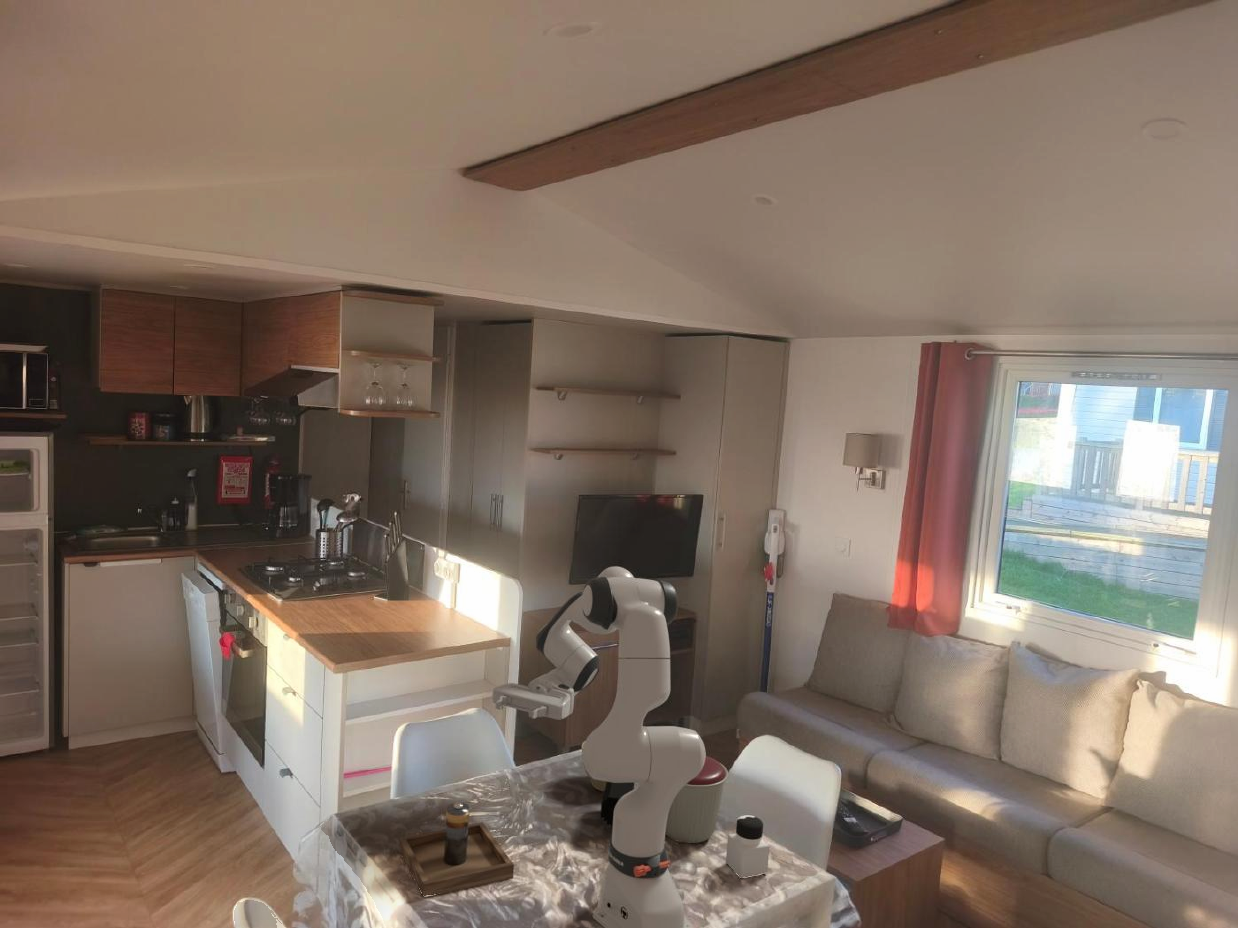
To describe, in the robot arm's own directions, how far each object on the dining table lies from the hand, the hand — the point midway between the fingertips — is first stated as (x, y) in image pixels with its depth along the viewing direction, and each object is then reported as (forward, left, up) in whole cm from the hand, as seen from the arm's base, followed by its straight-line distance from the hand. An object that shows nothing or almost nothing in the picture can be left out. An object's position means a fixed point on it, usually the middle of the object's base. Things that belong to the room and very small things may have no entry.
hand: (514, 710), depth 206 cm
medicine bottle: (-36, -45, -30) cm, 65 cm away
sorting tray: (-9, +16, -30) cm, 35 cm away
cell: (-9, +16, -29) cm, 35 cm away
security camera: (-6, -27, -30) cm, 41 cm away
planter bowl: (+13, -35, -30) cm, 48 cm away
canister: (-17, -41, -30) cm, 54 cm away
